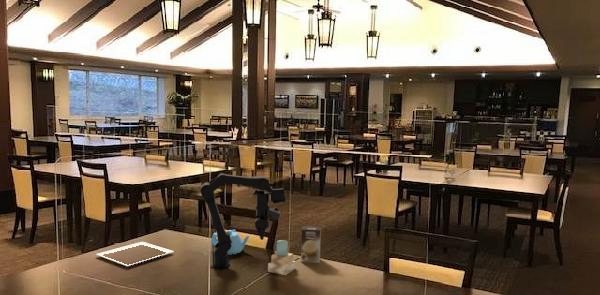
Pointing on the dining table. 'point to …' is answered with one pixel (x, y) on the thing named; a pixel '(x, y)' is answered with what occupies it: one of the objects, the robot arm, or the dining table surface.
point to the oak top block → (282, 259)
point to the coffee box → (310, 244)
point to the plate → (135, 246)
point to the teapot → (236, 242)
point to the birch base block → (281, 268)
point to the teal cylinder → (282, 248)
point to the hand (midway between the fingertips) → (262, 236)
